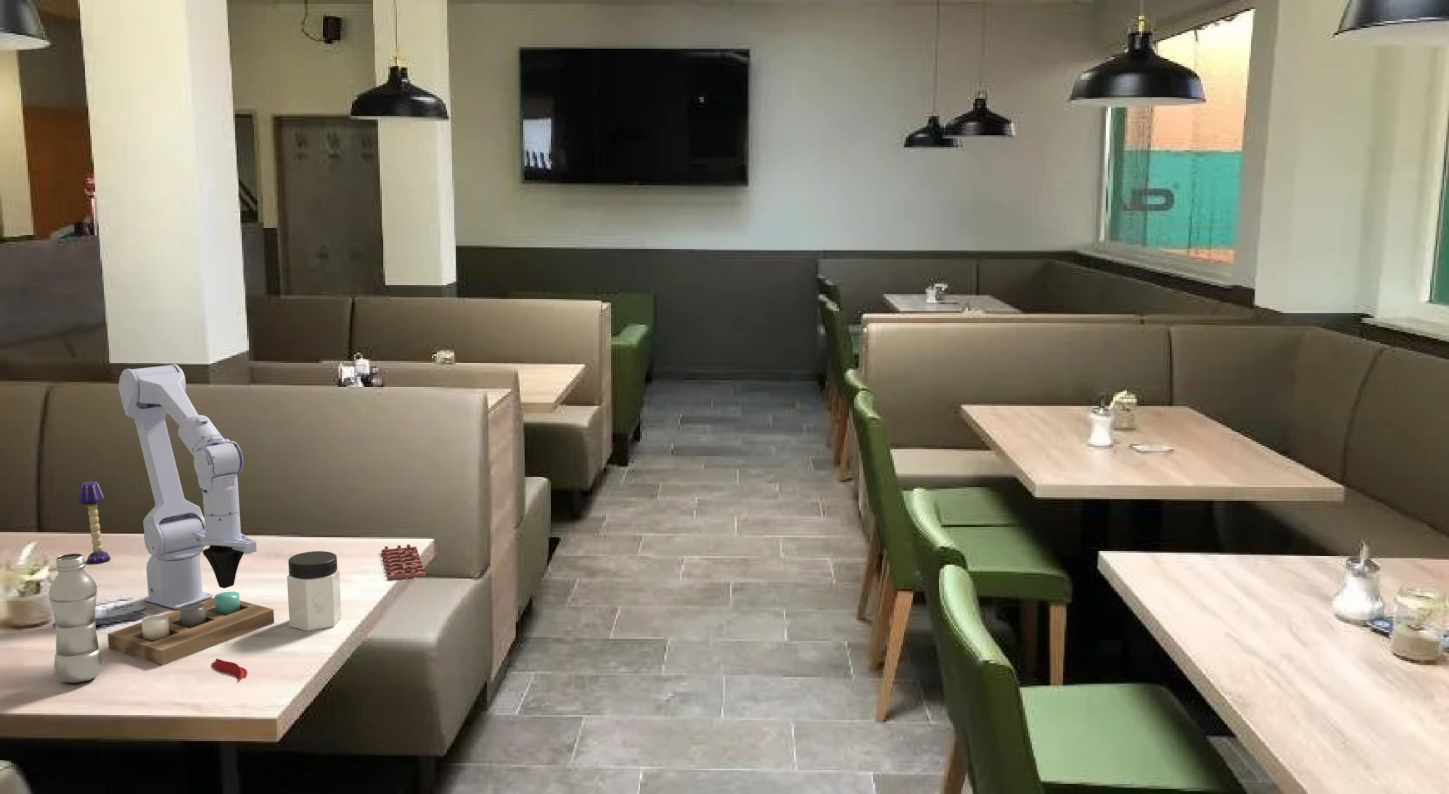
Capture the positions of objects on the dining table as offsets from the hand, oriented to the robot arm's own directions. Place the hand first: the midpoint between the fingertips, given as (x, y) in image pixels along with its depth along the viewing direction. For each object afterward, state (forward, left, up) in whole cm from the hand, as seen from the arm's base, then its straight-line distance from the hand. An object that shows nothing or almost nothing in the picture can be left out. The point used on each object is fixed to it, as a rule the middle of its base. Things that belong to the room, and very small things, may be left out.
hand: (226, 586), depth 204 cm
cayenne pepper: (+18, -14, -7) cm, 24 cm away
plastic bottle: (+1, -28, -7) cm, 29 cm away
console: (0, -7, -7) cm, 10 cm away
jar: (+13, +8, -7) cm, 17 cm away
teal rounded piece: (0, 0, -4) cm, 4 cm away
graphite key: (0, -7, -5) cm, 8 cm away
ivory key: (0, -14, -4) cm, 15 cm away
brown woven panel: (+3, +40, -8) cm, 41 cm away
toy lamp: (-52, +9, -7) cm, 53 cm away
